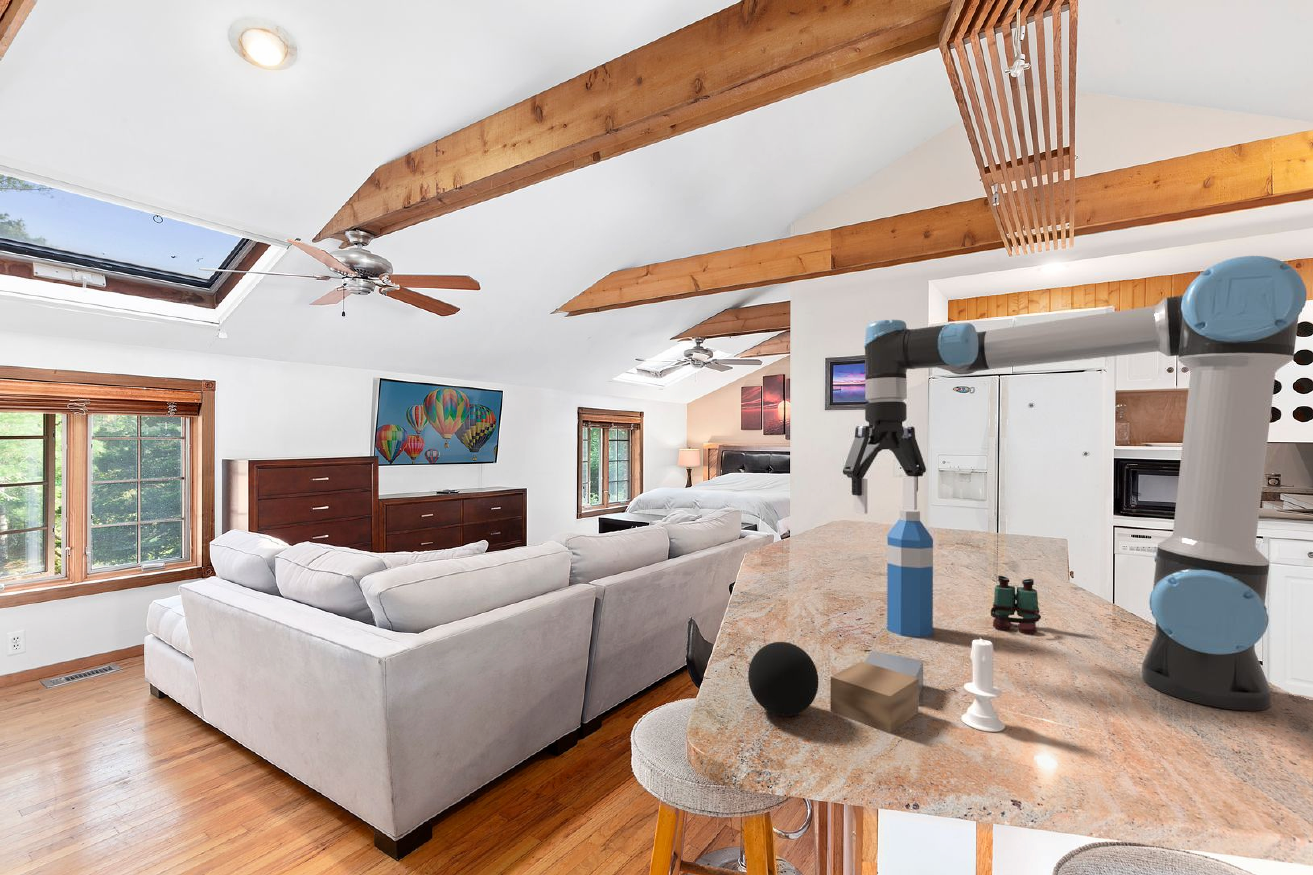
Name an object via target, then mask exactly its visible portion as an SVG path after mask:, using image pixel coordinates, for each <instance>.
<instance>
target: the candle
mask: <svg viewBox="0 0 1313 875" xmlns="http://www.w3.org/2000/svg"><path fill="white" fill-rule="evenodd" d="M970 661H971V663H972V681H971V682H966V683H965V684H964V685H963V688H964V689H965V690H966V691H967V692H969V693H971V694H972V695H973V696H975V699H974V700H973V703H972V704H971V705H970V706H969V707H967V710H966V712H965V713H964V714H962V715H961V720H962V722H963V723H964V724H965V725H967V726H968V727H970V728H972V729H976V730H979V731H984V732H990V733H996V732H1002V731H1004V730H1005V728H1006V727H1005V726H1006V725H1005V724H1004V722H1002V720H1000V718H999V717H1000V716H999V714H998V712H997V711H996V710H995V708H994V706H993V704H992V702H991V700H992V699H995V698H998V697H1000V696H1002V694H1003V691H1002V690H1001V689H1000V688H999V687H996V686H994V645H993V643H992V642H991V641H990V640H986V639H982V637H979V639H973V640H972V641H971V652H970Z"/></svg>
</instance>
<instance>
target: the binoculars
mask: <svg viewBox="0 0 1313 875" xmlns="http://www.w3.org/2000/svg"><path fill="white" fill-rule="evenodd" d="M997 576H998V577H997V581H998V582H999V584H997V585H995V586H994V592H993V593H994V594H993V596H994V597H993V604H992V607H991V609H990V616H991V617H992V618H994V619H993V622H992V627H993V628H995V629H996V630H998V631H1002V632H1008V631H1011V628H1012V623H1015V624H1016V623H1017V630H1018V632H1019V633H1020V634H1023V635H1033V634H1037V625H1036V624H1037V622H1039V621H1040V620H1041V619H1042V616H1041V614H1040V607H1039V601H1038V600H1039V597H1038V591H1037V589H1034V588H1033V586H1034V584H1035V582H1034V579H1033V578H1027V579H1023V580H1021V584H1022V585H1023V586H1017V587H1015V586H1014V585H1009V583H1010V579H1009V578H1008V577H1006V576H1005V575H1004V576H1003V575H997ZM1015 612H1016V615H1017V616H1018V617H1011V616H1014V615H1015Z"/></svg>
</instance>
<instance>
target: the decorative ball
mask: <svg viewBox="0 0 1313 875" xmlns="http://www.w3.org/2000/svg"><path fill="white" fill-rule="evenodd" d="M747 677H748V678H747V680H748V684H749V689H750V692H751V694H752V696H753V698H754V699H755V701H756V702H757V703H758V704H759V705H760V706H761V707H762V708H763V709H764V710H766V711H768V712H770V714H773V715H776V716H782V717H793V716H795V715H798V714H802V712H805V711H806V710H807V709H808V708H809V707H810V706H811V705H812V703H813V702H814V701H815V699H816V696H817V694H818V690H819V674H818V670H817V667H816V664H815V662H814V661H813V659H812V658H811V656H810V655H809V654H808V653H807V652H806V651H805V650H804V649H803V648H801V647H800V646H797V644H793V643H790V642H787V641H774V642H771V643H768V644H766V645H764V646H763V647H761V648H760V649H758V650H757V652H756V653H755V654H754V656H753V657H752V659H751V661H750V663H749V666H748V672H747Z"/></svg>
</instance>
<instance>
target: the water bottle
mask: <svg viewBox="0 0 1313 875" xmlns="http://www.w3.org/2000/svg"><path fill="white" fill-rule="evenodd" d="M931 535H932V534H930V532H929V530H927V528H926V527H925V525H924V524H923V523H922V521H921V511H920V510H918V509H917V510H911V509H903V508H901V509H899V520H898V521H896V523H895V524H894V526H893V527H892V528H891V529H890V530H889V532H887V535H886V536H887V543H886V544H887V545H886V546H887V548H886V550H887V554H886V555H887V556H886V558H887V559H886V560H887V561H886V562H887V564H886V565H887V568H886V570H887V572H886V574H887V575H886V576H887V577H886V579H887V581H886V582H887V583H886V585H887V586H886V587H887V588H886V590H887V591H886V597H887V598H886V612H887V613H886V627H887V628H886V630H887V631H888V632H891V633H894V634H897V635H899V636H902V637H903V636H906V637H912V638H925V637H930V636H933V635H934V633H933V632H934V630H933V629H934V626H933V624H934V617H933V614H934V606H933V605H934V600H933V599H934V539H933V536H931Z"/></svg>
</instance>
